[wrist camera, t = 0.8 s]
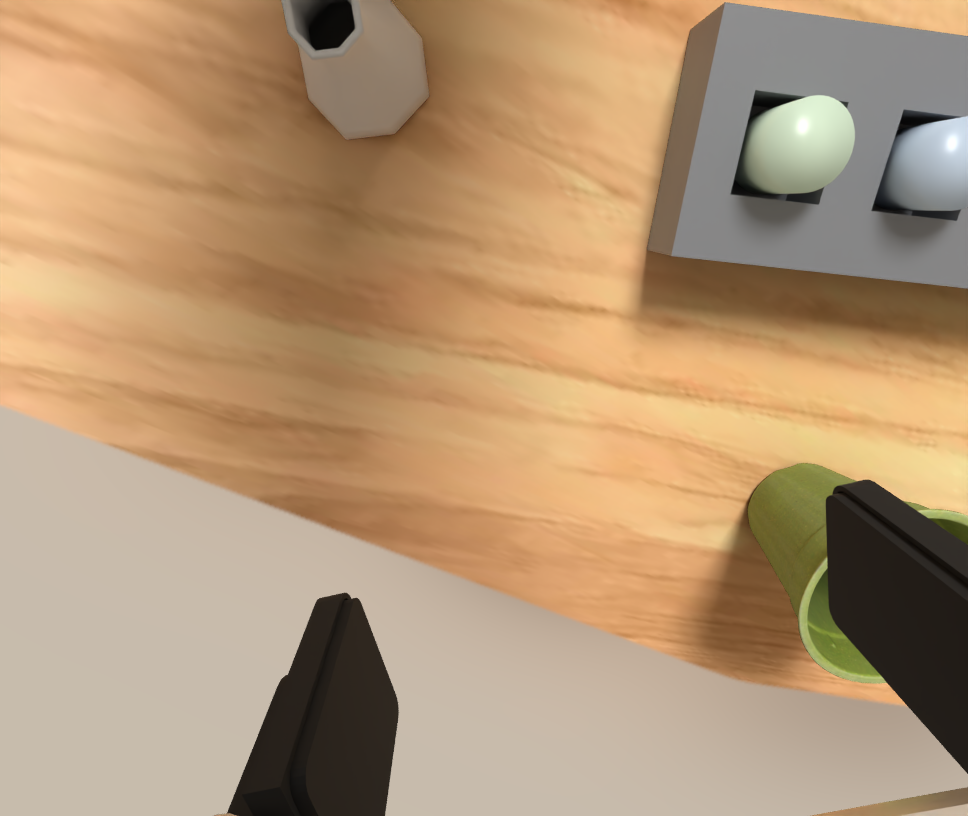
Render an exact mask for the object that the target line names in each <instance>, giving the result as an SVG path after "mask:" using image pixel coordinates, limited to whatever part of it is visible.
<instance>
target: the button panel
mask: <svg viewBox="0 0 968 816" xmlns="http://www.w3.org/2000/svg"><path fill="white" fill-rule="evenodd" d="M815 95H824V96H829V97H832V98H834V99H836V100H838V101H839V102H841V103H842V104H843V105H844V106H845V107H846V108H847V110H848V111H849V113H850V115H851V117H852V119H853V123H854V129H855V141H854V147H853V151H852V154H851V156H850V159H849V161H848V163H847V164H846V166H845V168H844V169H843V170H842V172H841V173H840V174H839V175H838V176H837V177H836V178H835V179H834V180H833V181H832V182H831V183H829V184H828V185H826V186H825V187H823V188H821V189H819V190H816V191H813V192H809V193H794V194H766V195H761V194H754V193H751V192H748V191H747V190H745V189H744V188H742V187H741V186H740V185H739V184H738V183H737V181H736V180H735V178H734V177H735V173H736V169H737V165H738V161H739V156H740V152H741V148H742V144H743V140H744V135H745V131H746V127H747V123H748V120H749V119H750V118H751V117H752V116H754V115H756V114H757V113H759V112H762V111H764V110H767V109H771V108H774V107H777V106H780V105H783V104H786V103H790V102H793V101H796V100H799V99H802V98H805V97H809V96H815ZM966 116H968V36H962V35H955V34H948V33H941V32H934V31H927V30H919V29H912V28H905V27H898V26H891V25H884V24H877V23H869V22H862V21H855V20H848V19H841V18H834V17H826V16H819V15H812V14H805V13H798V12H791V11H784V10H776V9H769V8H762V7H755V6H748V5H741V4H733V3H726V2H725V3H724V4H722V5H721V6H720V7H719V8H717V9H716V10H715V11H714V12H712V13H711V14H710V15H708V16H707V17H706V18H705V19H703V20H702V21H701V22H699V23H698V24H697V25H696V26H694V27H693V28H692V29H691V30H690V34H689V39H688V44H687V49H686V54H685V59H684V64H683V69H682V74H681V79H680V85H679V90H678V95H677V100H676V105H675V110H674V115H673V120H672V125H671V130H670V135H669V140H668V145H667V150H666V155H665V160H664V165H663V171H662V176H661V181H660V186H659V191H658V196H657V201H656V206H655V211H654V216H653V221H652V226H651V231H650V236H649V241H648V246H647V250H649V251H653V252H657V253H661V254H665V255H669V256H676V257H685V258H694V259H703V260H712V261H721V262H730V263H740V264H749V265H758V266H767V267H776V268H785V269H794V270H804V271H813V272H822V273H831V274H840V275H849V276H858V277H868V278H877V279H886V280H895V281H904V282H913V283H922V284H932V285H941V286H950V287H959V288H968V207H966V208H963V209H960V210H954V211H927V210H888V209H884V208H882V207H880V206H878V205H877V204H875V203H874V200H875V197H876V194H877V191H878V188H879V185H880V182H881V179H882V176H883V172H884V169H885V166H886V163H887V160H888V157H889V154H890V151H891V148H892V145H893V141H894V138H895V135H896V132H897V130H899V129H902V128H905V127H910V126H915V125H921V124H927V123H932V122H938V121H944V120H949V119H955V118H961V117H966Z"/></svg>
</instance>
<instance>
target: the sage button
mask: <svg viewBox="0 0 968 816" xmlns="http://www.w3.org/2000/svg"><path fill="white" fill-rule="evenodd" d="M854 141H855V129H854V123H853V119H852V117H851V115H850V113H849V111H848V110H847V108H846V107H845V106H844V105H843V104H842V103H841V102H839V101H838V100H836V99H834V98H832V97H829V96H824V95H815V96H809V97H805V98H802V99H799V100H796V101H793V102H790V103H786V104H783V105H780V106H777V107H774V108H771V109H767V110H764V111H762V112H759V113H757V114H756V115H754V116H752V117H751V118H750V119H749V120H748V123H747V127H746V131H745V135H744V140H743V144H742V148H741V152H740V156H739V161H738V165H737V169H736V173H735V177H734V178H735V180H736V181H737V183H738V184H739V185H740V186H741V187H742V188H744V189H745V190H747V191H748V192H751V193H754V194H761V195H766V194H794V193H809V192H813V191H816V190H819V189H821V188H823V187H825V186H826V185H828V184H829V183H831V182H832V181H833V180H834V179H835V178H836V177H837V176H838V175H839V174H840V173H841V172H842V170H843V169H844V168H845V166H846V164H847V163H848V161H849V159H850V156H851V154H852V151H853V147H854Z"/></svg>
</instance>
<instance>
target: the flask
mask: <svg viewBox="0 0 968 816" xmlns="http://www.w3.org/2000/svg"><path fill="white" fill-rule="evenodd" d="M281 1H282V6H283V11H284V16H285V21H286V26H287V31H288V34H289V35H290V36H291V37H292V38H293V39H294V41H295V42H296V43H297V44H298V48H299V53H300V58H301V63H302V69H303V74H304V79H305V84H306V89H307V94H308V99H309V100H310V101H311V103H312V104H313V105H314V106H315V107H316V108H317V109H318V110H319V111H320V112H321V113H322V114H323V115H324V117H325V118H326V119H327V120H328V121H329V122H330V123H331V124H332V125H333V126H334V127H335V128H336V129H337V131H338V132H339V133H340V134H341V135H342V136H343V137H344V138H345V139H346V140H349V139H357V138H366V137H374V136H382V135H391V134H395V133H396V132H397V131H398V130H399V129H400V128H401V127H402V126H403V125H404V123H405V122H406V121H407V120H408V119H409V118H410V117H411V116H412V115H413V114H414V113H415V111H416V110H417V109H418V108H419V107H420V106H421V105H422V104H423V103H424V102H425V101H426V100H427V98H428V97H429V88H428V80H427V73H426V65H425V57H424V49H423V41H422V37H421V36H420V35H419V34H418V33H417V31H416V30H415V29H414V28H413V27H412V25H411V24H410V23H409V22H408V21H407V19H406V18H405V17H404V16H403V15H402V13H401V12H400V11H399V10H398V9H397V7H396V6H395V5H394V4H393V3H392V1H391V0H281Z"/></svg>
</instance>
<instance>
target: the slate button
mask: <svg viewBox="0 0 968 816" xmlns="http://www.w3.org/2000/svg"><path fill="white" fill-rule="evenodd" d="M874 203H875V204H877V205H878V206H880V207H882V208H884V209H888V210H927V211H954V210H960V209H963V208H966V207H968V116H966V117H961V118H955V119H949V120H944V121H938V122H932V123H927V124H921V125H915V126H910V127H905V128H902V129H899V130H897V132H896V135H895V138H894V141H893V145H892V148H891V151H890V154H889V157H888V160H887V163H886V166H885V169H884V172H883V176H882V179H881V182H880V185H879V188H878V191H877V194H876V197H875V200H874Z"/></svg>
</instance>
